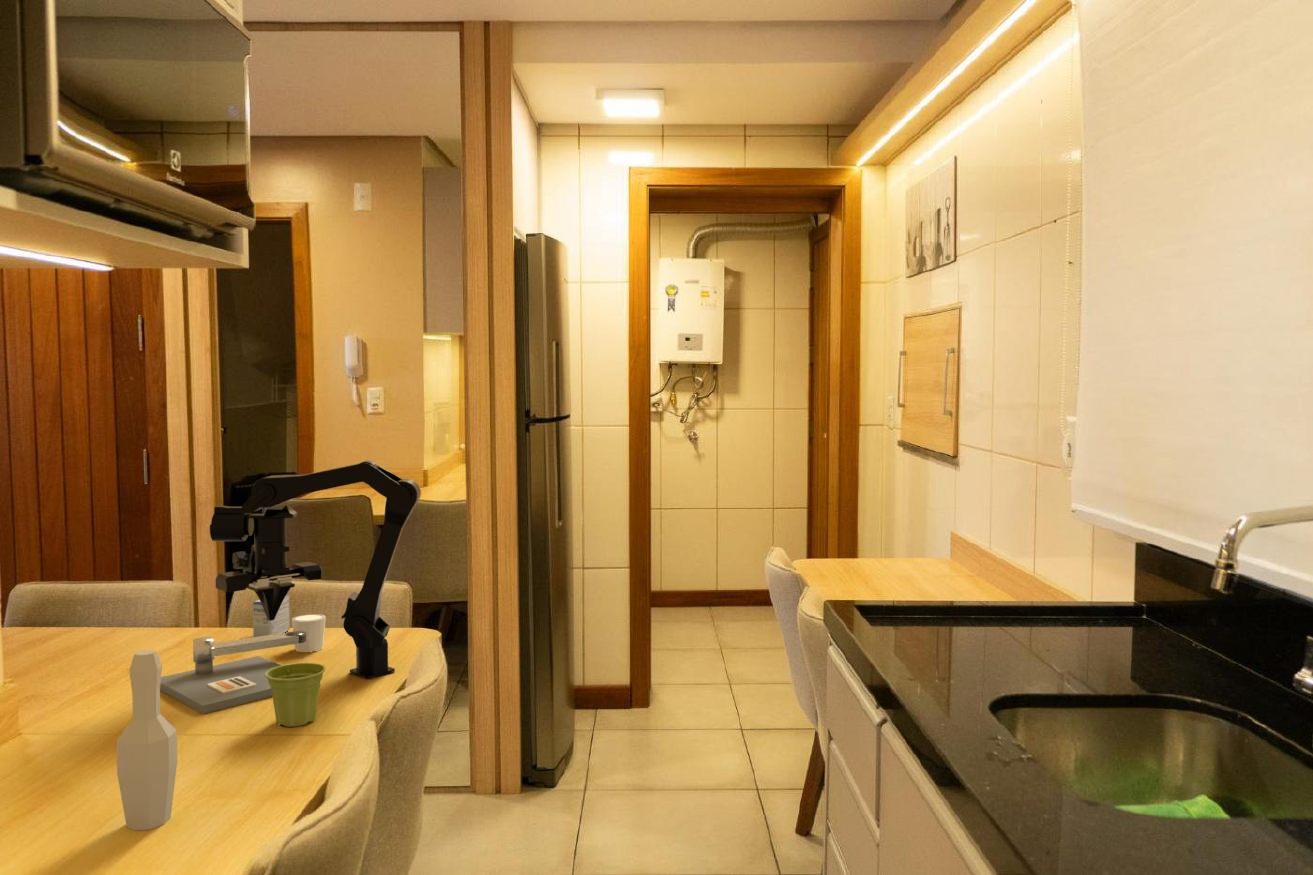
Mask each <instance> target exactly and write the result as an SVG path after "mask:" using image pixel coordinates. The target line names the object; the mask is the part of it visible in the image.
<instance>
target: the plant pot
mask: <svg viewBox="0 0 1313 875" xmlns="http://www.w3.org/2000/svg"><path fill="white" fill-rule="evenodd" d="M325 672H326V666H325V665H323V664H321V663H316V662H297V663H296V662H295V663H288V664H283V665H282V666H278V667H275V668H272V669H270V670H268V671H267V672H266V673H265V676H266V678H268V682H269V685H270V686H271V691H272V703H273V709H274V714H275V719H276V721H275V722H276V724H277V725H278V726H281V725H283V726H284V727H287V728H292V727H302V726H304V725H306V724H308V723H309V722H314V721H315V720H316V717H317V712H318V711H317V709H318V700H319V694H320V686H321V681H322V679H323V675H324V673H325Z"/></svg>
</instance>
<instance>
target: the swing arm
mask: <svg viewBox="0 0 1313 875" xmlns="http://www.w3.org/2000/svg"><path fill="white" fill-rule="evenodd" d="M303 642H306V632H304V631H294V632H293V631H288V632H286V633H280V634H273V635H266V636H259V637H253V636H252V637H247V638H239V639H233V640H226V641H220V642H215V637H212V636H204V637H203V636H202V637H198V638H195V639H193V640H192V649H193V650H192V651H193V652H192V655H193V660H192V661H193V663H204V662H209V661H214V660H215V658H216V657H219V656H220V657H221V656H227V655H234V654H240V653H245V652H252V651H259V650H266V649H271V648H278V647H285V646H291V645H295V644H299V643H303Z"/></svg>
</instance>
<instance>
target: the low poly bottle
mask: <svg viewBox="0 0 1313 875" xmlns="http://www.w3.org/2000/svg"><path fill="white" fill-rule="evenodd" d="M162 669H163V664H162V661H161V659H160V657H159V654H158V651H157V650H154V649H145V650H140V651H137V652H135V653H134V654H133V658H132V661H131V664H130V667H129V670H128V671H129V672H128V673H129V680H130V686H131V694H132V697H131V698H132V719H131V720H130V722H128V725H127V726H126V727H125V729H124V730H123V731H122V733H121V734H120V735H119V737H118V738H117V740H116V776H117V779H118V780H117V781H118V785H119V786H118V787H119V791H120V797H121V802H122V809H123V813H124V820H125V824H126V828H128V829H130V830H132V831H151V830H153V829H155V828H158V827H160V826H164V825H165V824H166V823H167V822H168V821H169V820H170V818H171V817H172V809H173V799H174V792H175V791H174V790H175V784H176V774H177V768H178V767H177V766H178V736H177V734H178V730H177V729H176V728H175V727H174V725H172V724H171V722H169V721H168V720H167V718H165V717H164V716H163V715H162V713H161V691H160V683H161V677H162Z"/></svg>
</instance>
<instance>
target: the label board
mask: <svg viewBox="0 0 1313 875" xmlns="http://www.w3.org/2000/svg"><path fill="white" fill-rule="evenodd" d="M194 664H195V665H194V669H192V670H187V671H182V672H178V673H173V674H169V675H164V676H161V683H160V692H162V693H164V694H166V695H168V696H170V697H171V698H173V699H175V700H177V701H179V702H180V703H182V704H184V705H186V706H188V707H189V708H191V709H193V710H195V711H197V712H198V713H201V714H202V715H205V714H209V713H213V712H216V711H221V710H225V709H229V708H233V707H236V706H240V705H241V706H242V705H244V704H248V703H251V702H256V701H260V700H262V699H263V700H264V699H268V698H271V697H272V691H271V686H270V685H269V682H268V678H266V676H265V673H266V672H267V671H268V670H270V669H272V668H275V667H278V666H282V665H281V664H279V663H277V662H274V661H271V660H270V659H268V658H265V657H263V656H260V655H257V656H252V657H247V658H241V659H239V660H234V661H233V660H232V661H229V662H224V663H220V664H215V665H214V660H212V661H209V662H204V663H196V662H194ZM272 698H273V697H272Z"/></svg>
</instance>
